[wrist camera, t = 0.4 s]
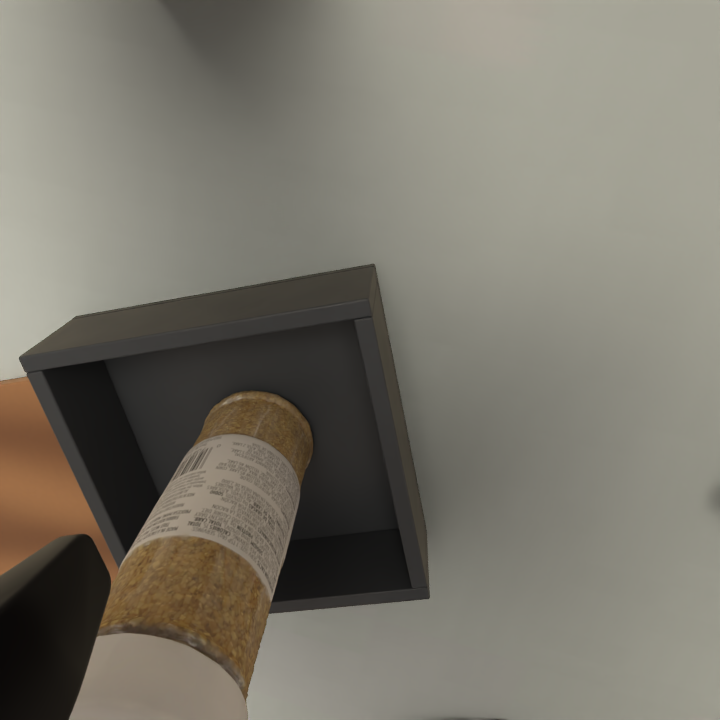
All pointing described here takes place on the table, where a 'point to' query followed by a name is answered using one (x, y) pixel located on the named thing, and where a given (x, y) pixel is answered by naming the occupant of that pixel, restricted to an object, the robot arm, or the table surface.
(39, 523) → the brown wooden board
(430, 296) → the table surface
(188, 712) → the sprinkles bottle
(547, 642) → the table surface
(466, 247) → the table surface
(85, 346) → the bin
